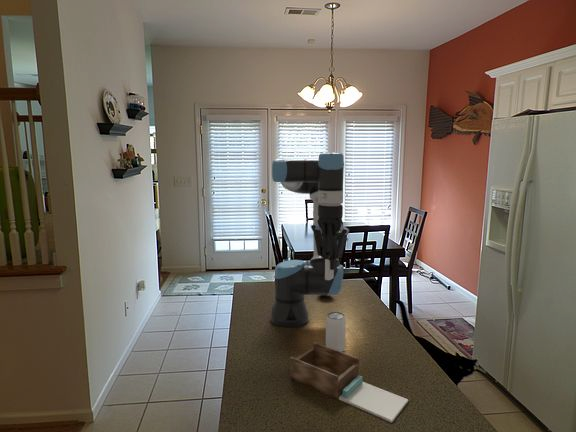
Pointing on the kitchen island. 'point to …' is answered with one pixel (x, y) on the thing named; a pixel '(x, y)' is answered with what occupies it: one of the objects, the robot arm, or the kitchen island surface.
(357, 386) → the lid
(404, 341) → the kitchen island surface
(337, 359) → the box
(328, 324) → the can
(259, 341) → the kitchen island surface
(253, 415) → the kitchen island surface
